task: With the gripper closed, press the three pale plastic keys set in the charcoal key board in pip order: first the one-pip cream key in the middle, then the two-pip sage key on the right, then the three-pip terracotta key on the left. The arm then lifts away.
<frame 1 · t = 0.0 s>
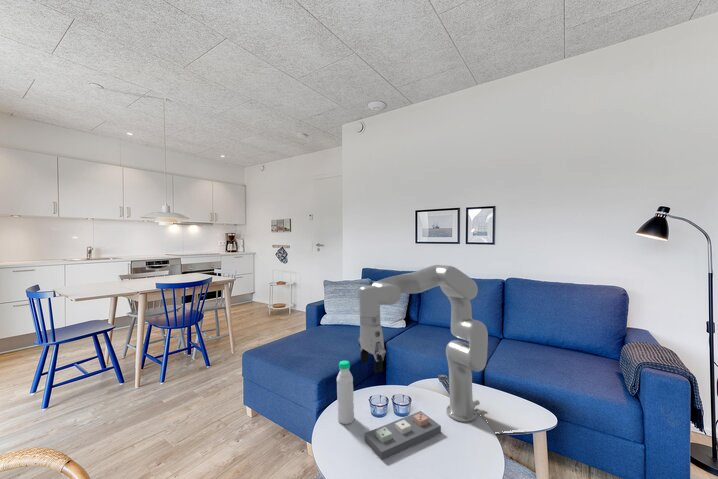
hand: (371, 366, 110), 31 cm above the table, fingers open, 9 cm apart
water bottle: (346, 420, 130), on the table
two pip key: (383, 436, 113), point 3 cm above the table, slide at 0.0 cm
one pip key: (403, 428, 117), point 3 cm above the table, slide at 0.0 cm
three pip key: (420, 421, 122), point 3 cm above the table, slide at 0.0 cm
key board: (403, 437, 117), on the table
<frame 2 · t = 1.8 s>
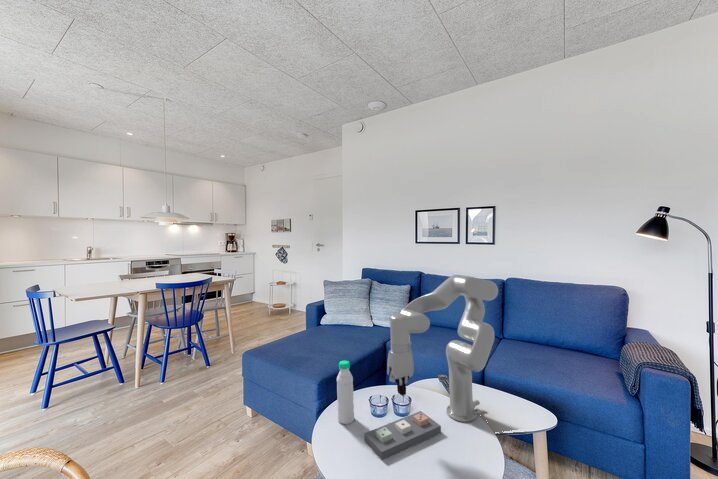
hand: (401, 393, 117), 17 cm above the table, fingers closed
nothing on the table moved.
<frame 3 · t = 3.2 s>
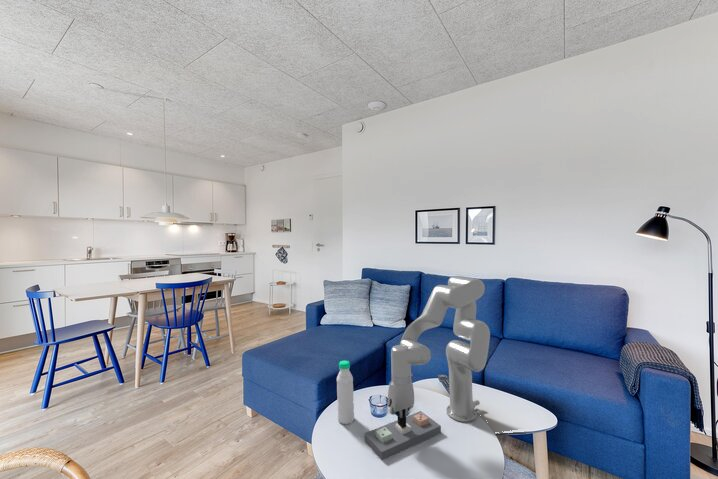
hand: (402, 425, 117), 5 cm above the table, fingers closed
one pip key: (403, 429, 117), point 3 cm above the table, slide at 0.4 cm, touching gripper
everything else where it was.
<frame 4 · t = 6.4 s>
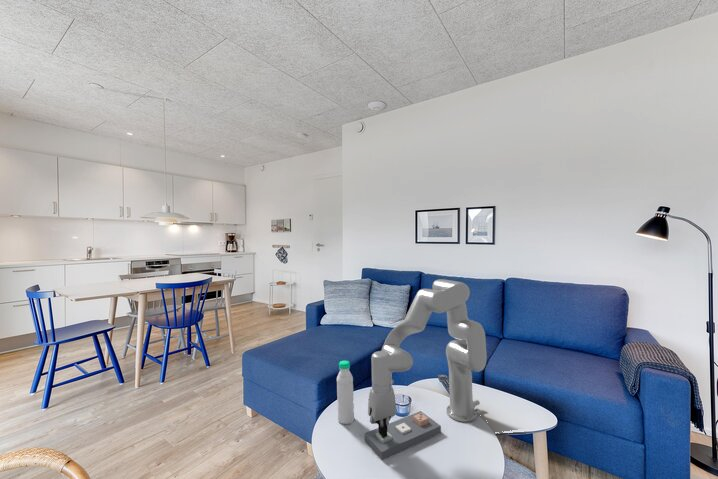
hand: (383, 434, 113), 4 cm above the table, fingers closed
two pip key: (384, 439, 113), point 2 cm above the table, slide at 1.0 cm, touching gripper
one pip key: (403, 431, 117), point 2 cm above the table, slide at 1.2 cm
everything else where it was.
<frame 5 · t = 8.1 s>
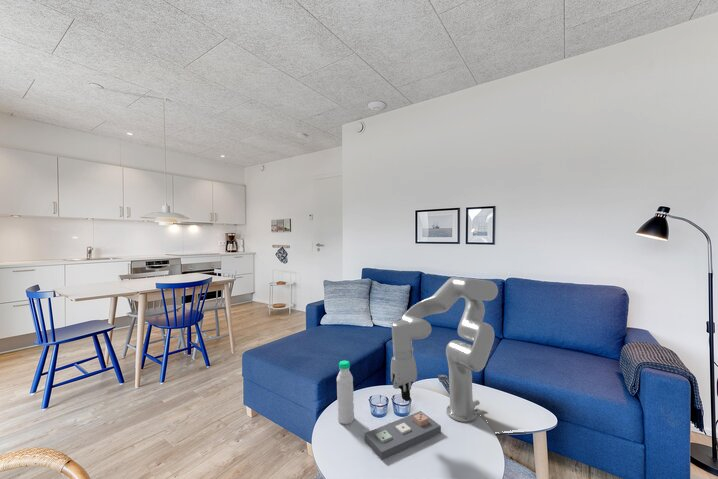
hand: (406, 399, 118), 14 cm above the table, fingers closed
two pip key: (384, 439, 113), point 2 cm above the table, slide at 1.2 cm
everything else where it was.
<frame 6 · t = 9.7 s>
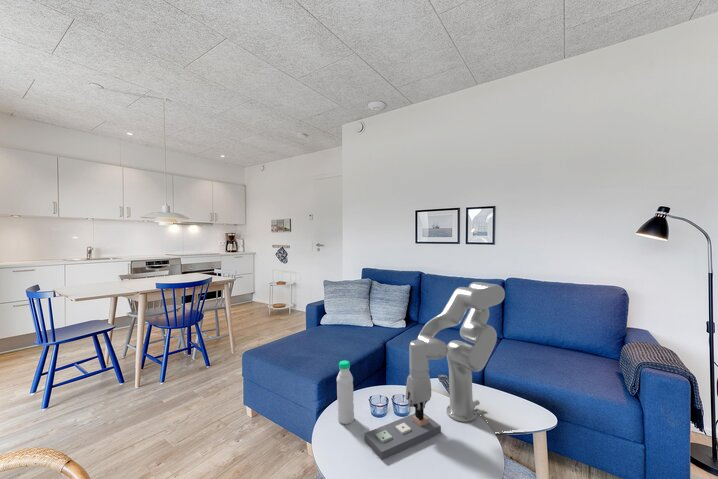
hand: (419, 417, 121), 5 cm above the table, fingers closed
three pip key: (420, 421, 122), point 3 cm above the table, slide at 0.2 cm, touching gripper
everything else where it was.
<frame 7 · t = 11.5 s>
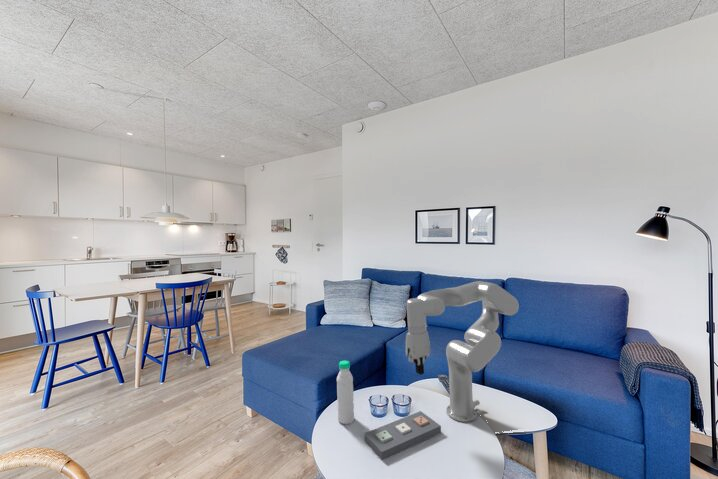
hand: (419, 373, 124), 22 cm above the table, fingers closed
three pip key: (421, 424, 122), point 2 cm above the table, slide at 1.2 cm
everything else where it was.
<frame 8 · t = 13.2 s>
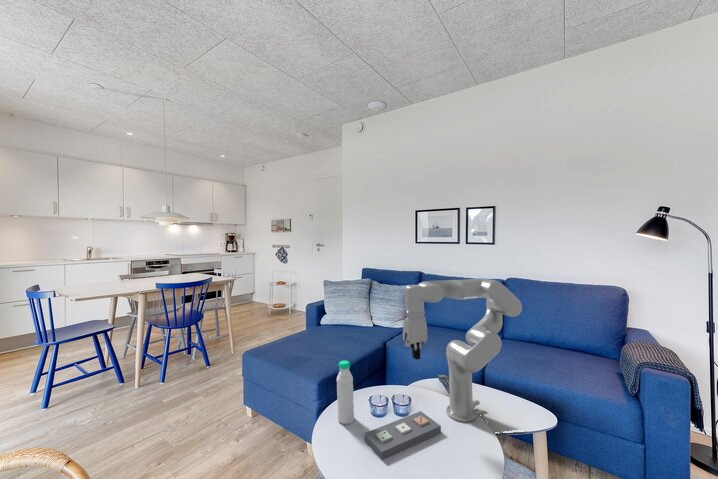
hand: (416, 358, 126), 27 cm above the table, fingers closed
nothing on the table moved.
at the end: one pip key slide at 1.2 cm; two pip key slide at 1.2 cm; three pip key slide at 1.2 cm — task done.
